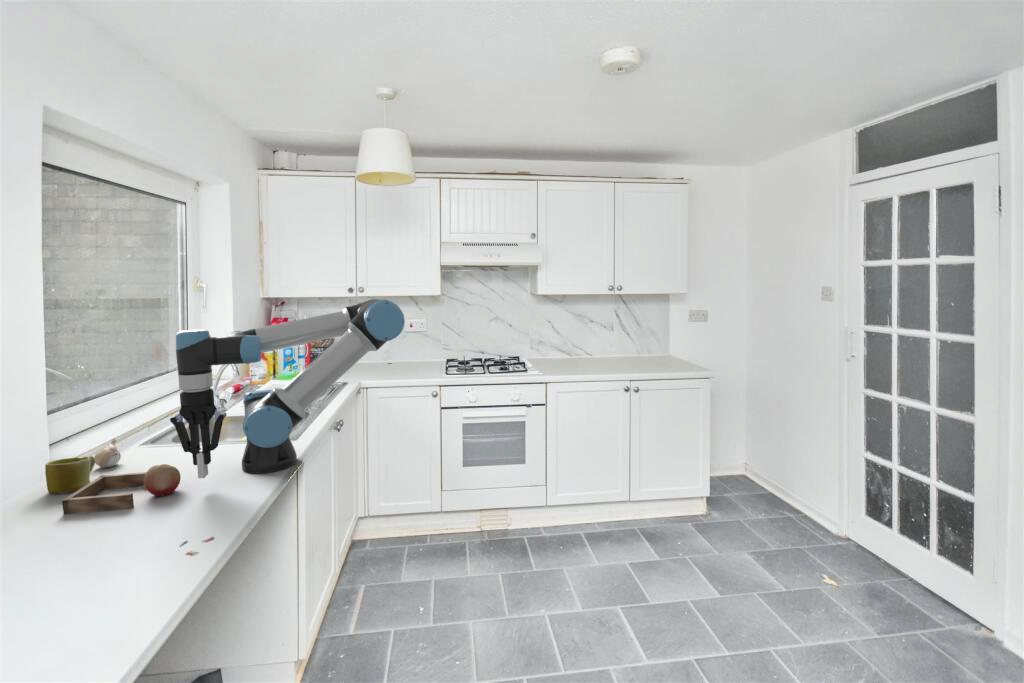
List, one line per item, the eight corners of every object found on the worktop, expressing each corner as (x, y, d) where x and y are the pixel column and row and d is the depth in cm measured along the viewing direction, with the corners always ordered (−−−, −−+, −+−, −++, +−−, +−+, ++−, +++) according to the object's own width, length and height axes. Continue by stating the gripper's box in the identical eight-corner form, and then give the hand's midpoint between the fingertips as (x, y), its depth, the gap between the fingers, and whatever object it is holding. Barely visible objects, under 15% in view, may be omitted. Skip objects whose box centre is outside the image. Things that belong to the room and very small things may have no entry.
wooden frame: (162, 483, 141) (160, 471, 141) (131, 508, 125) (130, 494, 125) (102, 487, 138) (101, 475, 138) (63, 514, 122) (61, 500, 122)
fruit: (189, 489, 136) (186, 461, 136) (159, 502, 129) (157, 471, 128) (167, 486, 139) (165, 457, 138) (137, 497, 132) (134, 468, 131)
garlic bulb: (125, 465, 156) (123, 439, 155) (100, 471, 150) (97, 445, 149) (116, 461, 159) (113, 436, 158) (91, 467, 154) (88, 442, 153)
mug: (65, 492, 131) (60, 454, 132) (36, 501, 133) (31, 463, 134) (113, 483, 142) (108, 448, 144) (86, 492, 145) (81, 457, 146)
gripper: (228, 385, 138) (234, 469, 141) (174, 387, 135) (182, 473, 138) (218, 390, 131) (225, 479, 133) (162, 393, 128) (169, 483, 131)
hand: (203, 476), depth 136 cm, fingers closed
